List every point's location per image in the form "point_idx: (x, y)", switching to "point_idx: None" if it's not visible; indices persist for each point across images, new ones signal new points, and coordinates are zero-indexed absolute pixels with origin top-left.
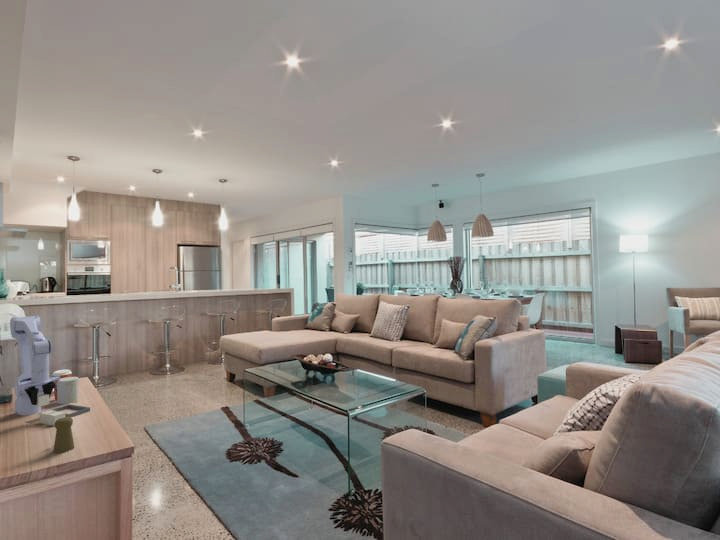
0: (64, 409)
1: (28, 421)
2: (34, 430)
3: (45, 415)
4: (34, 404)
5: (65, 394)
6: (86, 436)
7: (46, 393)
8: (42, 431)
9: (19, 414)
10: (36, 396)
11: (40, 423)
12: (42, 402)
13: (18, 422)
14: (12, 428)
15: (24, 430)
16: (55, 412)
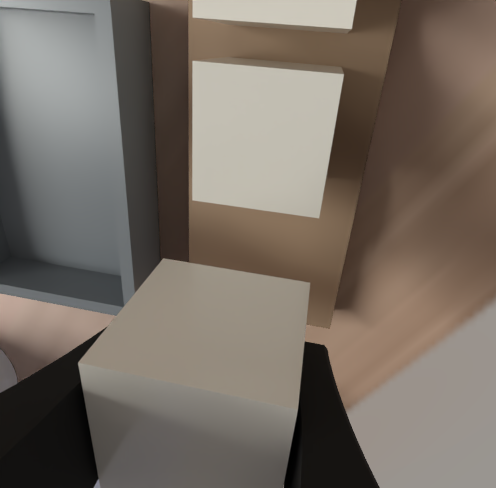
0: (30, 270)
1: (308, 310)
2: (411, 130)
3: (338, 99)
4: (328, 358)
5: None
6: None
7: (78, 437)
8: (433, 7)
9: None
10: (317, 461)
11: (330, 162)
12: (243, 306)
13: None
14: (386, 343)
15: (419, 222)
16: (244, 14)
